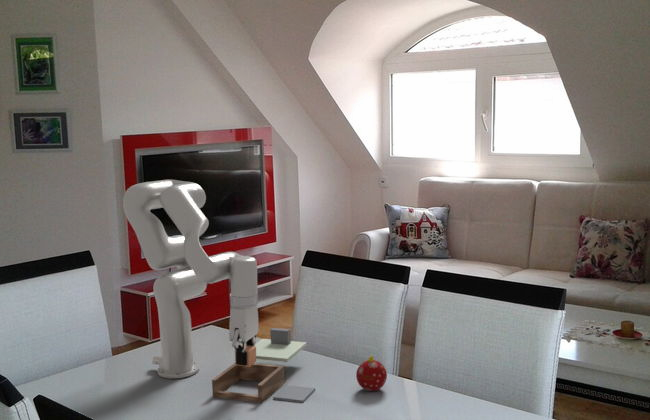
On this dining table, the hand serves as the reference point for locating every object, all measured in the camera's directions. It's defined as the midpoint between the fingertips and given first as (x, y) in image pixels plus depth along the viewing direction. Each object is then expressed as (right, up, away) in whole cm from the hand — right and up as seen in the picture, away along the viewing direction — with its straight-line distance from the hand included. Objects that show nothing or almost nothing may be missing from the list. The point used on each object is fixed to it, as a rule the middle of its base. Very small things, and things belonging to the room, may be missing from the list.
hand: (245, 360), depth 205 cm
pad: (+14, -9, -4) cm, 17 cm away
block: (0, -1, 0) cm, 1 cm away
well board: (+1, -8, +1) cm, 8 cm away
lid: (+7, -1, +17) cm, 18 cm away
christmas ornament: (+36, -8, -3) cm, 37 cm away
